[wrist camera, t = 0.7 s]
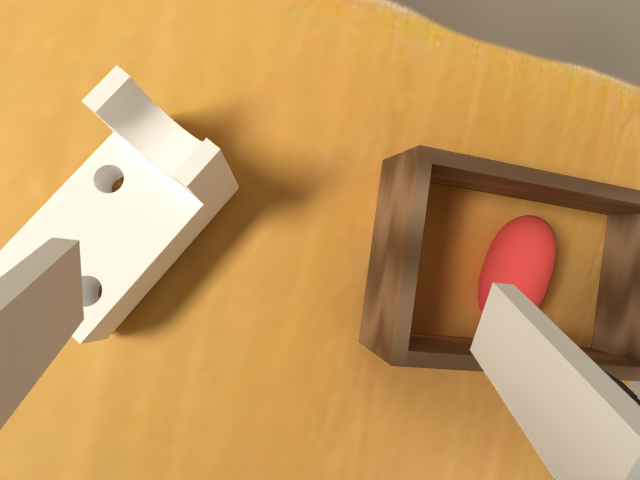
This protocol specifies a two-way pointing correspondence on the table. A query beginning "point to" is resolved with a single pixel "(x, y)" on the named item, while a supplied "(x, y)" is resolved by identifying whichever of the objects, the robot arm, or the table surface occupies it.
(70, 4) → the table surface
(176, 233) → the bracket
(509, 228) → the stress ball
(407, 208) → the walnut box
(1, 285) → the robot arm
